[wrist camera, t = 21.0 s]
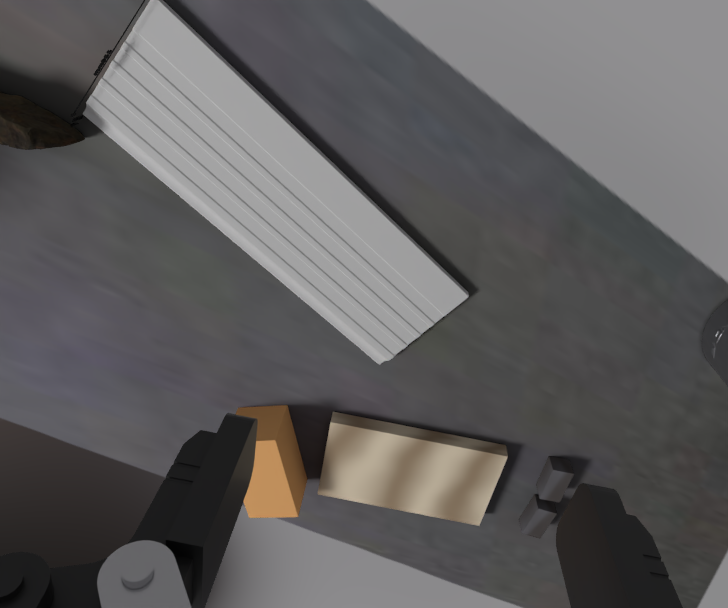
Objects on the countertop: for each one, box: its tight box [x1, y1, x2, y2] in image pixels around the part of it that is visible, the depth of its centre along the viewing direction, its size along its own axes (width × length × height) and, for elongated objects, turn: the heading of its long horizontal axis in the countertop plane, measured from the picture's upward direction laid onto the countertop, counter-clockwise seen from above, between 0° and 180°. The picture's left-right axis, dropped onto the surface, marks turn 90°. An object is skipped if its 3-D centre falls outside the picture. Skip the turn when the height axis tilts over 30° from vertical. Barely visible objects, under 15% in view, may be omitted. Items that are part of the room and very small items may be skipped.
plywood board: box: [318, 412, 508, 526], centre depth 54 cm, size 17×10×2 cm, turn 80°
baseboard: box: [71, 0, 469, 365], centre depth 42 cm, size 31×3×12 cm
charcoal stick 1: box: [536, 456, 574, 503], centre depth 52 cm, size 2×4×2 cm
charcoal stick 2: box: [519, 494, 557, 538], centre depth 55 cm, size 2×4×2 cm
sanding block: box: [236, 405, 307, 518], centre depth 53 cm, size 5×10×5 cm, turn 8°
